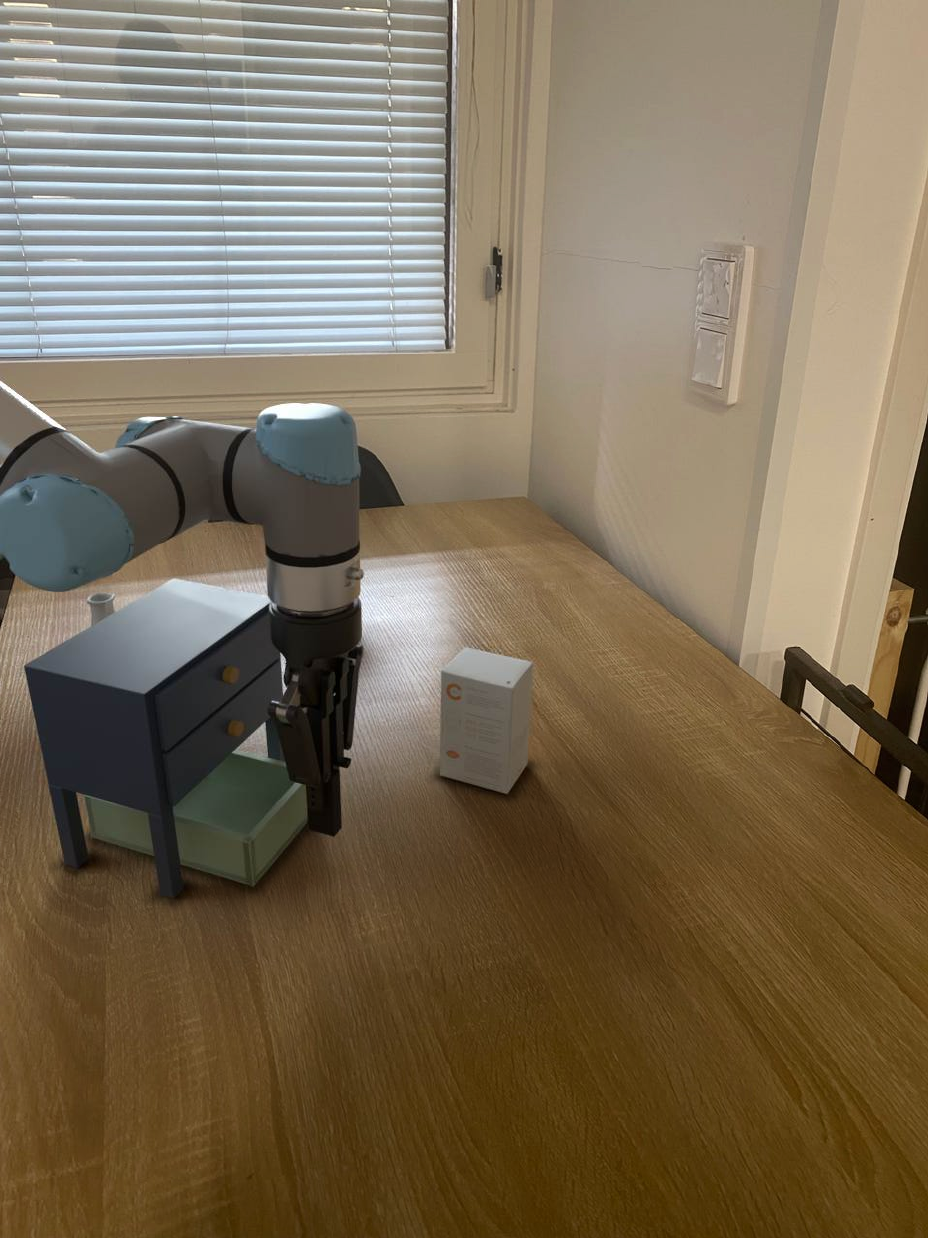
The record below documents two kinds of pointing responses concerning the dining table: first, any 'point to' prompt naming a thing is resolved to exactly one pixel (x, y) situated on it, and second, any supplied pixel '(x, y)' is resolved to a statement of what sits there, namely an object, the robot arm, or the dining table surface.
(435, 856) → the dining table surface
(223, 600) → the drawer cabinet
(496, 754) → the small box
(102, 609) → the flask
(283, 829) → the storage tub
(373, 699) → the dining table surface
